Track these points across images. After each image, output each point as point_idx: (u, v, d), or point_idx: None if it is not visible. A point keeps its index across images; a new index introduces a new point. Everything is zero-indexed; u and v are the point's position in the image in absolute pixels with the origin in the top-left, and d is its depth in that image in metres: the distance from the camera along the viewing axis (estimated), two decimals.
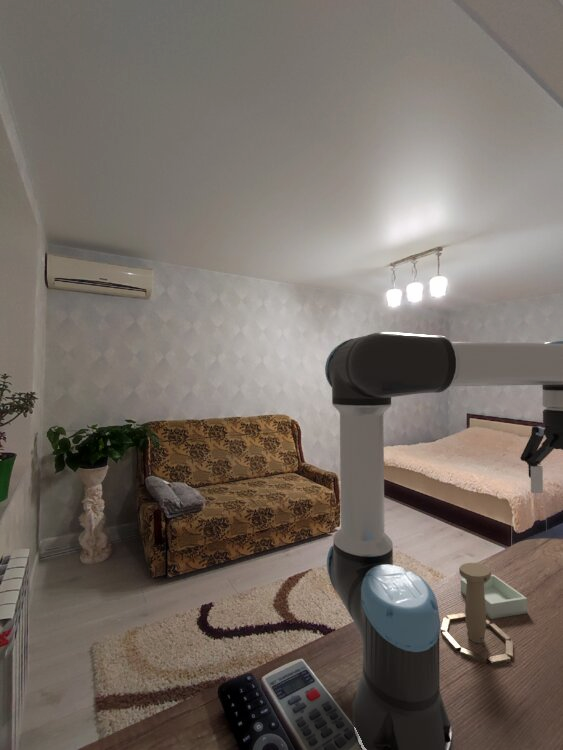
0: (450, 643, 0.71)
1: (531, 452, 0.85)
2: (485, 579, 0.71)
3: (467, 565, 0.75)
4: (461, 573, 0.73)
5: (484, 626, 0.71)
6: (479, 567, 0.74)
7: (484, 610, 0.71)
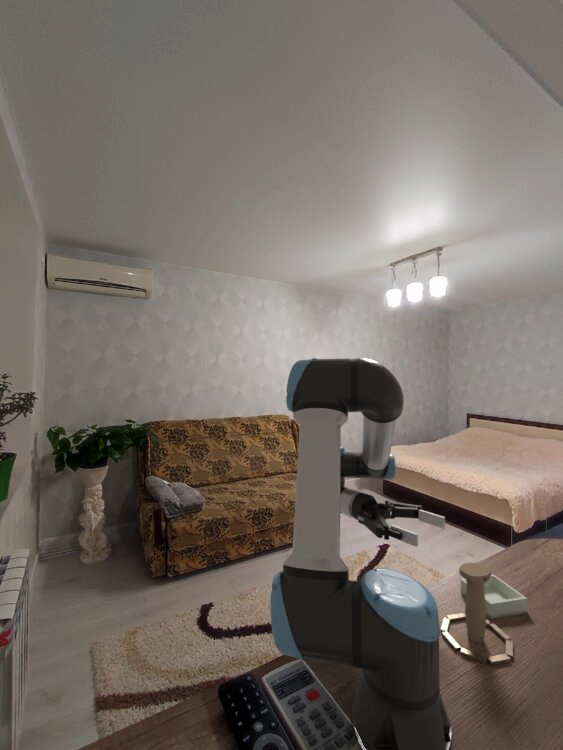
0: (450, 643, 0.71)
1: None
2: (485, 579, 0.71)
3: (467, 565, 0.75)
4: (461, 573, 0.73)
5: (484, 626, 0.71)
6: (479, 567, 0.74)
7: (484, 610, 0.71)
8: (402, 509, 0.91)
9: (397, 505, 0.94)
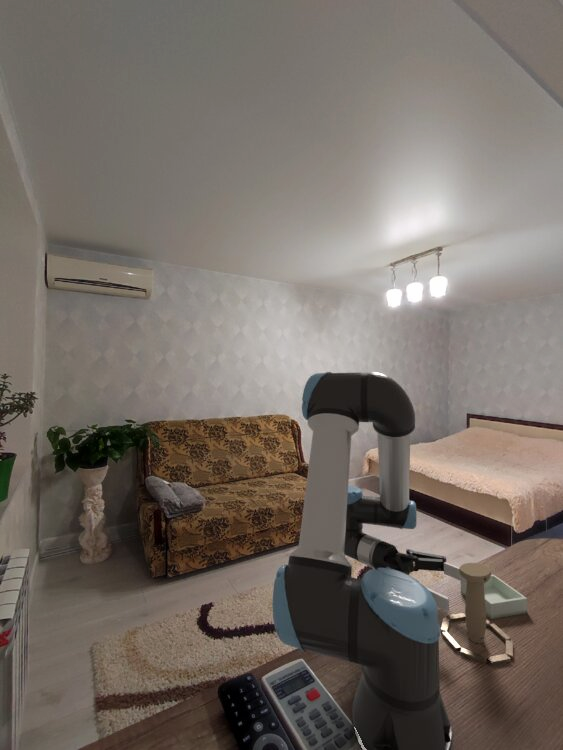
0: (450, 643, 0.71)
1: None
2: (485, 579, 0.71)
3: (467, 565, 0.75)
4: (461, 573, 0.73)
5: (484, 626, 0.71)
6: (479, 567, 0.74)
7: (484, 610, 0.71)
8: (426, 561, 0.87)
9: (420, 555, 0.90)
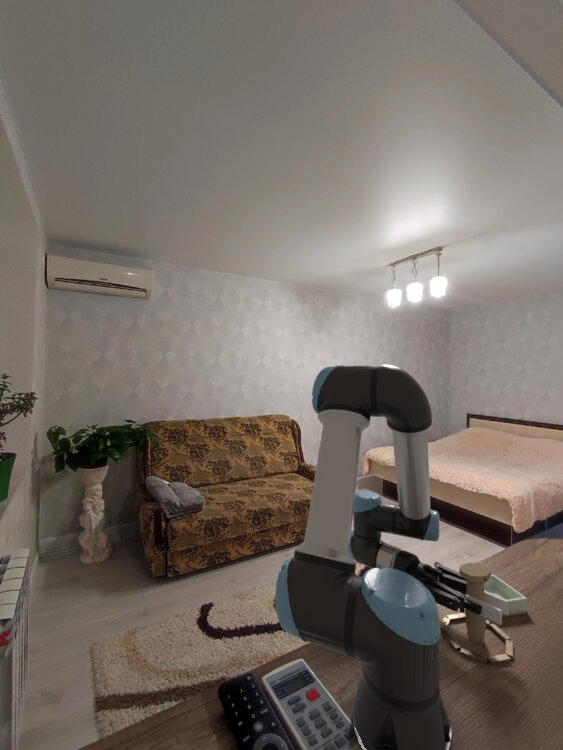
0: (450, 643, 0.71)
1: None
2: (485, 579, 0.71)
3: (467, 565, 0.75)
4: (461, 573, 0.73)
5: (484, 626, 0.71)
6: (479, 567, 0.74)
7: None
8: (450, 579, 0.79)
9: (446, 571, 0.82)
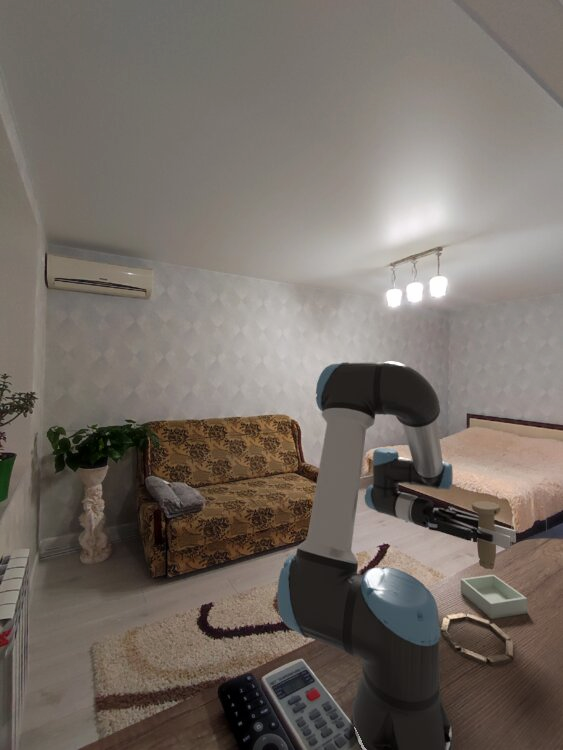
0: (450, 643, 0.71)
1: None
2: (495, 512, 0.81)
3: (479, 502, 0.84)
4: (474, 508, 0.82)
5: (494, 554, 0.81)
6: (489, 504, 0.83)
7: None
8: (463, 518, 0.88)
9: (458, 513, 0.92)
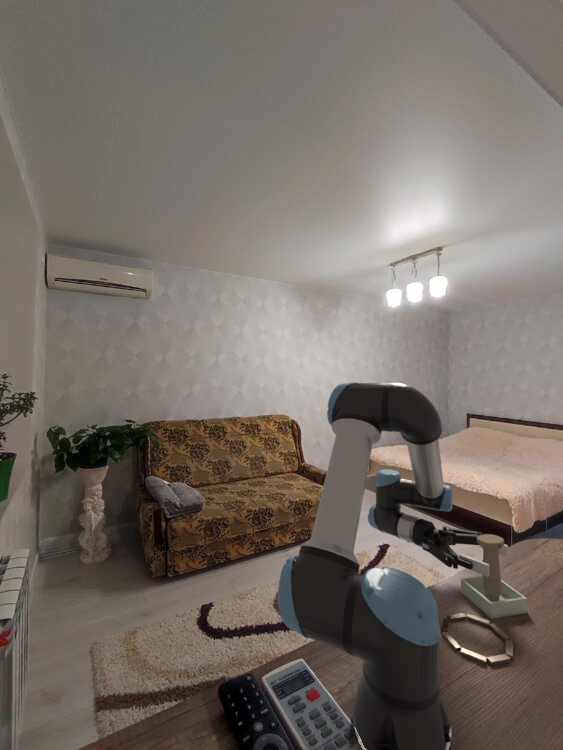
0: (450, 643, 0.71)
1: None
2: (499, 546, 0.83)
3: (483, 535, 0.87)
4: (478, 542, 0.85)
5: (499, 587, 0.83)
6: (494, 537, 0.86)
7: (499, 573, 0.83)
8: (463, 536, 0.94)
9: (456, 531, 0.98)
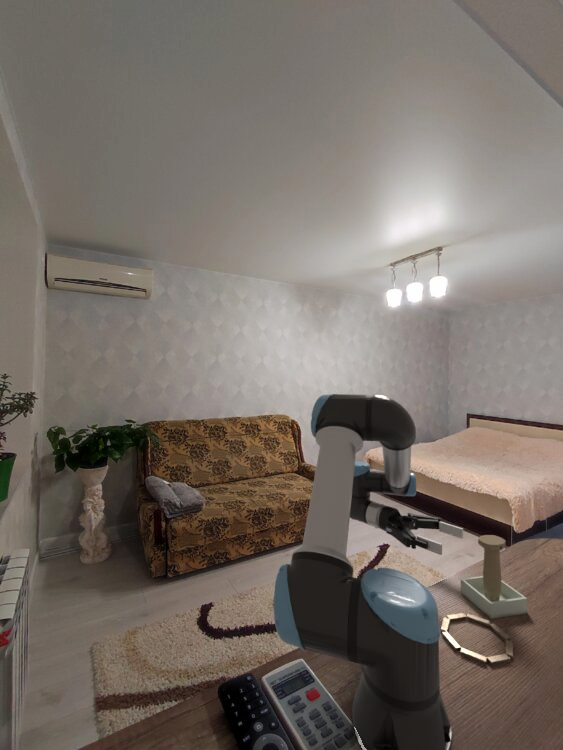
0: (450, 643, 0.71)
1: None
2: (501, 547, 0.83)
3: (485, 536, 0.86)
4: (480, 543, 0.84)
5: (499, 588, 0.83)
6: (495, 538, 0.86)
7: (500, 574, 0.83)
8: (424, 521, 1.03)
9: (419, 517, 1.06)
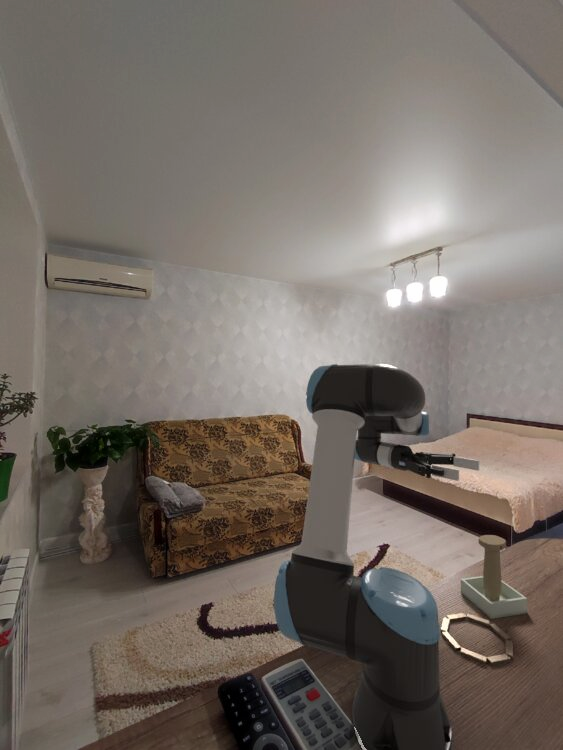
0: (450, 643, 0.71)
1: None
2: (501, 547, 0.83)
3: (485, 536, 0.86)
4: (480, 542, 0.84)
5: (500, 588, 0.83)
6: (496, 538, 0.86)
7: (500, 574, 0.83)
8: (438, 457, 1.00)
9: (432, 455, 1.03)
